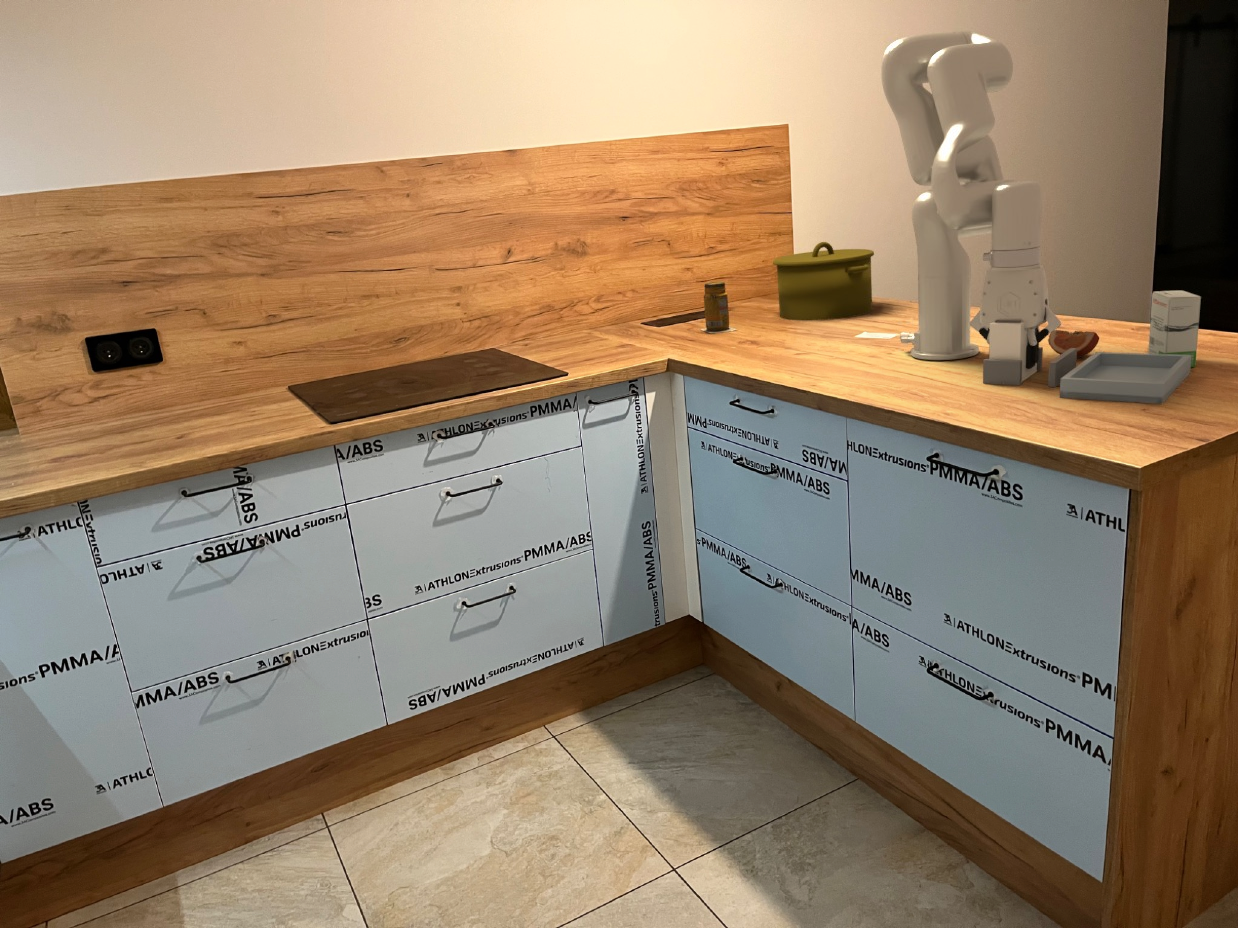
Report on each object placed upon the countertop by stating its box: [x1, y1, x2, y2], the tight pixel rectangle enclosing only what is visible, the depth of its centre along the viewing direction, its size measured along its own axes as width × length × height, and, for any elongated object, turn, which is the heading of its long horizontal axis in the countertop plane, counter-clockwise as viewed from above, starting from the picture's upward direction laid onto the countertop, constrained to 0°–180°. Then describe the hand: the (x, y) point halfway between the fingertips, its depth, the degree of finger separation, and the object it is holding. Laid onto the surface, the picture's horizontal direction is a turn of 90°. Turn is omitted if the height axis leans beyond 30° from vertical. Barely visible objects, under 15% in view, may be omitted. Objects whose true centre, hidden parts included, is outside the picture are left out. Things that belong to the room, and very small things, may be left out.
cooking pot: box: [772, 241, 875, 321], centre depth 242 cm, size 30×26×18 cm
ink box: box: [1147, 290, 1202, 368], centre depth 154 cm, size 9×5×12 cm, turn 168°
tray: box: [1059, 351, 1192, 405], centre depth 145 cm, size 14×20×3 cm
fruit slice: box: [1047, 329, 1100, 359], centre depth 167 cm, size 8×7×5 cm
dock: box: [982, 346, 1078, 388], centre depth 156 cm, size 12×12×4 cm
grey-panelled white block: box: [988, 320, 1038, 382], centre depth 157 cm, size 5×9×10 cm, turn 140°
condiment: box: [700, 281, 738, 334], centre depth 234 cm, size 7×8×12 cm
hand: (1013, 365), depth 158 cm, fingers closed on grey-panelled white block, 5 cm apart
